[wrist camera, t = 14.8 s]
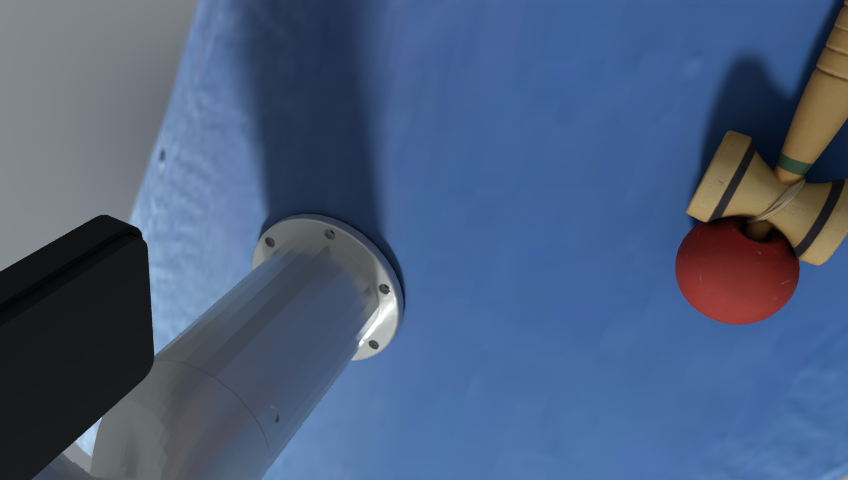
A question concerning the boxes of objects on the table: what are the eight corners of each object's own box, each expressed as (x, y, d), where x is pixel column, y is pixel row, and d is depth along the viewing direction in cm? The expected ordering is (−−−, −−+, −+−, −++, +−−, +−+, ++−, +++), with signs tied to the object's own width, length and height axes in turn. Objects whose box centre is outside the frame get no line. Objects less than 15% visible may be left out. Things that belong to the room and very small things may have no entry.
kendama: (777, -52, 32) (634, 267, 40) (825, -49, 26) (648, 323, 34) (938, -8, 32) (762, 306, 40) (1023, 5, 26) (797, 368, 34)
